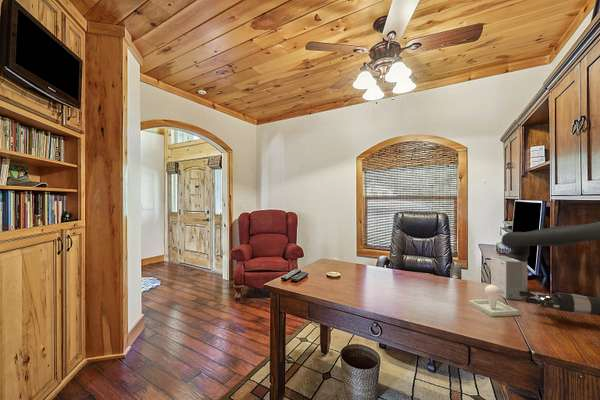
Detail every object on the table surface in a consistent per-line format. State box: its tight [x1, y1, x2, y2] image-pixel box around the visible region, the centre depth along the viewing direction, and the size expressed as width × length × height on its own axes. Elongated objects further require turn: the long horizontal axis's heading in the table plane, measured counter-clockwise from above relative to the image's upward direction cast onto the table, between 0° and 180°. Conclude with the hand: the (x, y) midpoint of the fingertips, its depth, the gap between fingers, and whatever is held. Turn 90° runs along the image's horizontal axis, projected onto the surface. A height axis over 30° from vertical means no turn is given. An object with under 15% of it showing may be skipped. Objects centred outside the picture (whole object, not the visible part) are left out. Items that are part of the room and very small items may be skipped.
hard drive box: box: [490, 254, 523, 301], centre depth 138 cm, size 16×8×20 cm, turn 168°
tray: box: [468, 298, 520, 318], centre depth 120 cm, size 13×13×2 cm
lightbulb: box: [484, 284, 501, 309], centre depth 120 cm, size 6×6×11 cm
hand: (522, 296), depth 115 cm, fingers open, 8 cm apart
